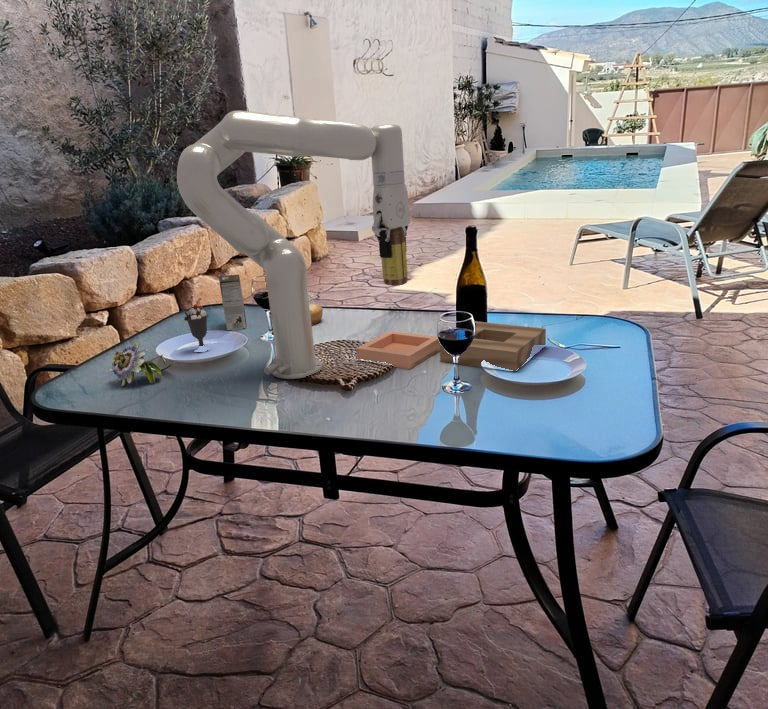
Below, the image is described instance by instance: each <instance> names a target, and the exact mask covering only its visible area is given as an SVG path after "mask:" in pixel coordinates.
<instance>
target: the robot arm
mask: <svg viewBox="0 0 768 709" xmlns="http://www.w3.org/2000/svg"><path fill="white" fill-rule="evenodd" d="M246 152H247V153H255V154H265V155H277V156H288V157H296V158H297V157H301V158H304V157H322V158H323V157H324V158H335V159H344V160H350V161H365V160H367V159H369V158H371V168H372V169H371V170H372V181H373V182H372V184H373V185H372V186H373V193H372V217H373V224H372V225H371V226H372V227H371V231H372V232H373V233H374V235H375V237H376V238H377V242H378V248H379V257H380V258H381V259H382V258H391V257H392V248H391V241H389V238H390V231H391V229H397V228H400V227H402V228H403V230H404V236H405V244H406V245H407V235H408V233H407V231H408V229H409V228H408V227H409V225H410V224H411V211H410V210H411V209H410V200H409V193H408V190H407V185H406V183H405V182H406V180H405V165H404V148H403V130H402V127H401V125H398V124H383V125H375V126H372V127H368V126H366V125H363V124H357V123H356V124H355V123H347V122H338V121H332V120H331V121H330V120H329V121H328V120H320V119H312V118H307V117H301V116H292V115H282V114H275V113H265V112H257V111H249V110H248V111H247V110H232V111H230V112H228V113H227V114H225V116H224V117H223V118H222V120H220V122H218V124H216V125H215V126H214V127H213V128H212V129H211V130H209V131H208V132H207V133H206V134H204V135H203V136H202V137H201V138H200V139H198V140H197V141H196V142H195V143H193V144H190V145H188V146H186V148H184V149H183V150H182V152H181V154H180V156H179V158H178V163H177V169H176V181H177V182H176V183H177V188H178V191H179V195H181V198H182V200H183V202H184V203H185V205H186V206H187V208H188V209H189V210H190V211H191V212H193V214H194V215H195V216H196V217H197V218H198V219H200V220H201V221H202V222H203V223H204V224H206V225H207V226H208V227H209V228H210V229H211V230H212V231H213V232H215V233H216V234H217V235H218V236H220V237H221V238H222V239H223V240H225V242H227V243H228V244H229V245H230V246H231V247H232V248H233V249H235V251H236V252H238V253H239V254H242V255H245V256H247V257H248V258H249V259H250V260H252V261H253V262H254V263H255V264H257V265H258V266H259V267H260V268H261V269H263V270H264V273H265V278H266V287H267V296H268V304H269V309H270V310H269V311H270V316H271V324H272V325H271V326H272V333H273V339H274V347H275V354H276V356H275V357H274V358H273V363H272V364H270V365H268V366H266V367H264V369H263V371H264V374H265V375H267V376H269V375H273V376H274V377H276V378H278V379H285V380H295V379H296V380H297V379H304V378H307V377H306V376H308V377H310V376H309V375H311V374H314V373H316V372H318V371H319V372H321V371H320V370H323V363H322V361H320V360H319V359H316V351H315V342H314V336H313V328H312V327H313V325H311V316H310V308H309V304H310V299H309V298H310V297H309V296H308V295H309V291H308V287H309V286H308V271H307V270H308V269H307V268H308V267H307V264H306V260H305V258H304V256H303V254H302V252H301V251H300V250H299V249H298V248H297V247H296V246H295V245H294V244H293V243H292V242H290V241H289V240H288V239H287V238H286V237H285V236H283V234H281V233H280V232H279V231H277V230H276V229H275V228H274V227H273V226H272V225H271V224H269V223H268V222H267V221H265V219H263V217H261V216H260V215H258V214H257V213H255V212H253V211H249V210H247V209H246V208H245V207H244V206H242V205H241V203H239V202H238V201H237V200H236V199H235V198H234V197H233V196H232V195H231V194H229V193H228V192H227V191H225V190H224V189H223V188H222V186H221V185H220V183H219V181H218V176H219V174H221V173H222V172H223V171H224V170H225V169H227V168H228V167H229V166H231V165H232V164H233V163H234V162H235V161H237V160H238V159H239V158H240V157H241V156H243V154H244V153H246ZM383 226H385V227H387V228H383ZM383 231H386V234H384V232H383ZM319 372H318V373H319ZM316 374H317V373H316ZM314 375H315V374H314ZM311 376H312V375H311Z"/></svg>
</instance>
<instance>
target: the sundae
mask: <svg viewBox="0 0 768 709" xmlns="http://www.w3.org/2000/svg"><path fill="white" fill-rule="evenodd" d="M201 300H202V297H201V298H200V297H199V298H198V300H197V302H196V303H195V304H193V306H192V307H190V308H189V309H188V313H187V312H186V311H184V314H185V316H184V321H185V322H186V321H187V323H188V326H189V330H190V332H191V335H192V336H193V337H194V338H195V339H196V340H198V347H199V346H203V345H204V346H205V344H204V340H203V339H204V338H205V337H206V336H207V332H208V327H207V325H208V324H207V322H208V321H207V320H208V319H207V318H209V314H207V312H206V310H204V309H203V306H202V305H201V302H200V301H201ZM198 303H199V305H198Z"/></svg>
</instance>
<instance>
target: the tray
mask: <svg viewBox="0 0 768 709" xmlns="http://www.w3.org/2000/svg"><path fill="white" fill-rule="evenodd" d="M437 337H438V336H433V335H425V334H417V333H410V332H401V331H393V330H389V331H388V332H385V333H383V334H381V335H379V336H378V337H376V338H373V339H371V340H369V341H367V342H366V343H363V344H362V345H359V346H357V347H356V348H355V349H356V360H357V359H364V360H372V361H379V362H386V363H390V364H392V365H393V367H392V368H398V369H404V370H405V369H406V370H411V369H413V368H415V367H416V366H418V365H420V364H421V363H423V362H425V361H427V360H428V359H429V358H431V357H433V356H434V355H436V354H437V353H440V343H439V341H438V338H437Z"/></svg>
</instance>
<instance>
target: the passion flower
mask: <svg viewBox="0 0 768 709" xmlns="http://www.w3.org/2000/svg"><path fill="white" fill-rule="evenodd" d="M138 349H139V342H138V341H135V342H134V343H133V345H132V346H131V345H130V346H128V347H127V348H126V347H125V348H124V349H122V351H120V350H119V351H116V352H115V354H114V355H113V358H112V361H111V365H112V366H111V367H110V368H109V369H108V371H109V372H113V374H114V375H115V376H116V377H117V381H118V382H121V385H120V387H126V385H127V384H129V385H130V384H132V383H133V381H134V378H135V373H137V374H139V373H140V372H144V374H145V376H146V378H147V380H148V381H149V383H150V384H156V375H158V377H159V379H161V377H162V369H160V366H158V365H157V364H156V363H155V362H154V360H156V359H158V358H161V360H162V362H163V364H167V360H166V359H165V357H164V356H163V354H161V355H159V356H157V357H155V358H152V359H150V360H147V361H146V359H145V358H144V357H145V356H146V355H147V354H148V349H147V348H146V349H142V350H140V351H138ZM152 369H153V370H154V371H155V372H154V371H153V370H152ZM155 373H156V375H155Z"/></svg>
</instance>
